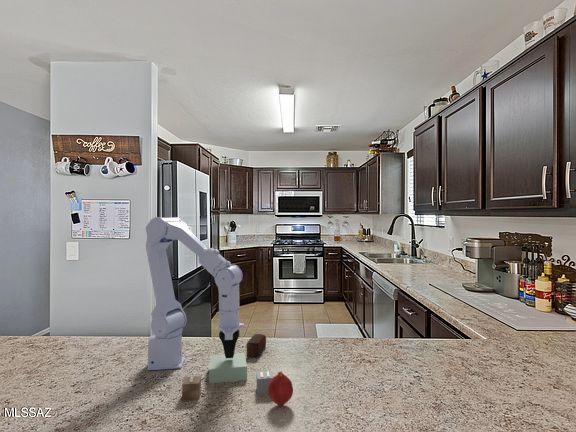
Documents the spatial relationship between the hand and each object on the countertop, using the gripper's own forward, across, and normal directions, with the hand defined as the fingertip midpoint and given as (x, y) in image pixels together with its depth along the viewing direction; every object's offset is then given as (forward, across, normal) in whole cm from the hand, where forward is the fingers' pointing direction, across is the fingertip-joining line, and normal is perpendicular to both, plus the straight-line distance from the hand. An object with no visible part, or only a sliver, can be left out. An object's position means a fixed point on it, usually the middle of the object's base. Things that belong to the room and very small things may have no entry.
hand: (229, 357), depth 101 cm
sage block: (+5, 0, 0) cm, 5 cm away
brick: (+5, +15, -8) cm, 18 cm away
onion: (+4, -20, -12) cm, 24 cm away
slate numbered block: (+4, -12, -9) cm, 16 cm away
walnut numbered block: (+4, -12, +9) cm, 16 cm away
